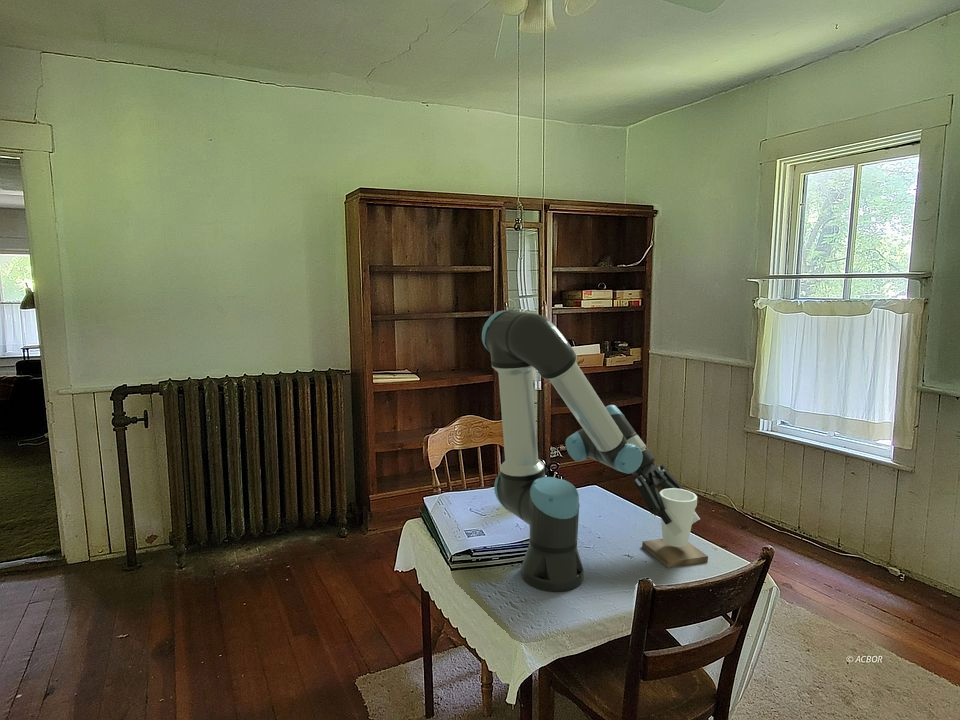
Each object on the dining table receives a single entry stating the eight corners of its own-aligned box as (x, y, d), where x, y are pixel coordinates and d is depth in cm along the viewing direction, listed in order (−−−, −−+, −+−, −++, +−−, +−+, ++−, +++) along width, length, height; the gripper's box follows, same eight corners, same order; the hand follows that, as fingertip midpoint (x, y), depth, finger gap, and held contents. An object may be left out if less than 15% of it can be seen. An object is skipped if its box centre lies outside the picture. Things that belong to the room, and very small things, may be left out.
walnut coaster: (667, 567, 153) (667, 562, 153) (642, 546, 164) (642, 541, 164) (707, 561, 156) (708, 556, 156) (680, 541, 168) (680, 536, 167)
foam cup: (698, 550, 155) (702, 502, 153) (662, 549, 155) (665, 501, 153) (687, 533, 164) (690, 488, 162) (653, 533, 164) (655, 487, 162)
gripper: (646, 453, 175) (695, 521, 167) (605, 472, 159) (657, 547, 151) (664, 440, 171) (715, 508, 162) (624, 457, 155) (678, 534, 147)
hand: (687, 527), depth 157 cm, fingers closed on foam cup, 9 cm apart
